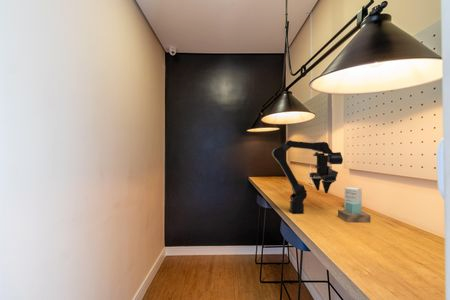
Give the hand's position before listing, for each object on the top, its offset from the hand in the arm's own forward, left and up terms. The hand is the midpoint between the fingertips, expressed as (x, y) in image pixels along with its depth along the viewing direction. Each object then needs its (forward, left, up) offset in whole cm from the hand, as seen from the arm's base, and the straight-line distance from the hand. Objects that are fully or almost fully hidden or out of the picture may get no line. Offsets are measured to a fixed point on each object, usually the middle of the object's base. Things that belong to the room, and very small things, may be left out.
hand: (322, 191), depth 127 cm
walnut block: (+10, -13, -12) cm, 20 cm away
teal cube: (+10, -13, -8) cm, 18 cm away
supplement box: (+24, +8, -12) cm, 28 cm away
